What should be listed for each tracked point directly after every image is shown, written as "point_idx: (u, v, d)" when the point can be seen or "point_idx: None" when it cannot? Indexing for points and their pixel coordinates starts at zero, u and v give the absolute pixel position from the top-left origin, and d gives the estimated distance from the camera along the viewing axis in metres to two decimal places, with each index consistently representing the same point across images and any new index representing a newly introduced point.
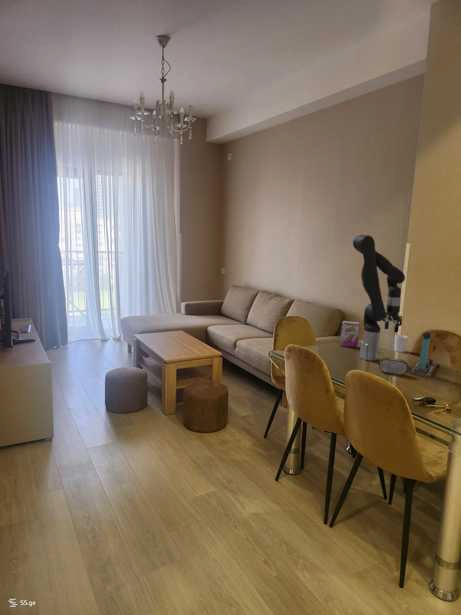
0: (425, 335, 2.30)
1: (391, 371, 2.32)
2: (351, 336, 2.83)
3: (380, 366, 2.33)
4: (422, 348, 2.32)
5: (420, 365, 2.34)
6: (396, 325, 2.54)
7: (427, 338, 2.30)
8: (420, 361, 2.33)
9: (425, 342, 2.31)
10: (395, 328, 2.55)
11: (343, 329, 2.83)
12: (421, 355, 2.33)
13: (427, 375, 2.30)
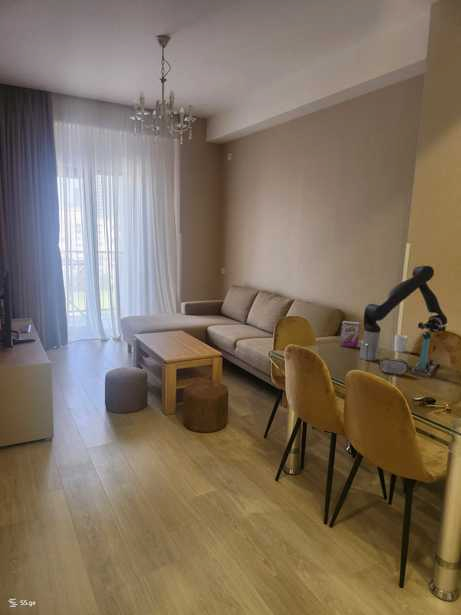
0: (425, 335, 2.30)
1: (391, 371, 2.32)
2: (351, 336, 2.83)
3: (380, 366, 2.33)
4: (422, 348, 2.32)
5: (420, 365, 2.34)
6: (441, 327, 2.41)
7: (427, 338, 2.30)
8: (420, 361, 2.33)
9: (425, 342, 2.31)
10: (440, 328, 2.40)
11: (343, 329, 2.83)
12: (421, 355, 2.33)
13: (427, 375, 2.30)
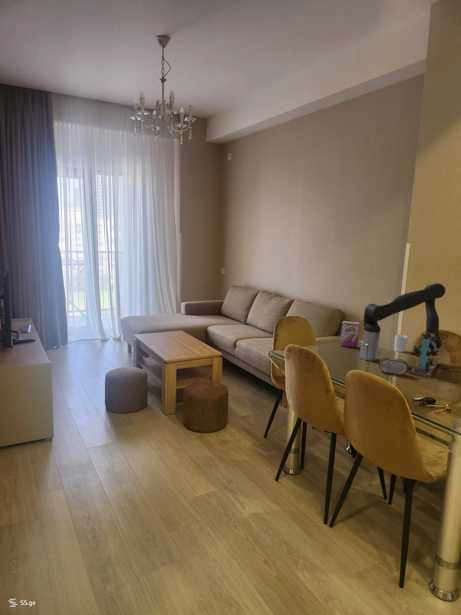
0: (425, 335, 2.30)
1: (391, 371, 2.32)
2: (351, 336, 2.83)
3: (380, 366, 2.33)
4: (422, 348, 2.32)
5: (420, 365, 2.34)
6: (430, 351, 2.33)
7: (427, 338, 2.30)
8: (420, 361, 2.33)
9: (425, 342, 2.31)
10: (428, 352, 2.32)
11: (343, 329, 2.83)
12: (421, 355, 2.33)
13: (427, 375, 2.30)
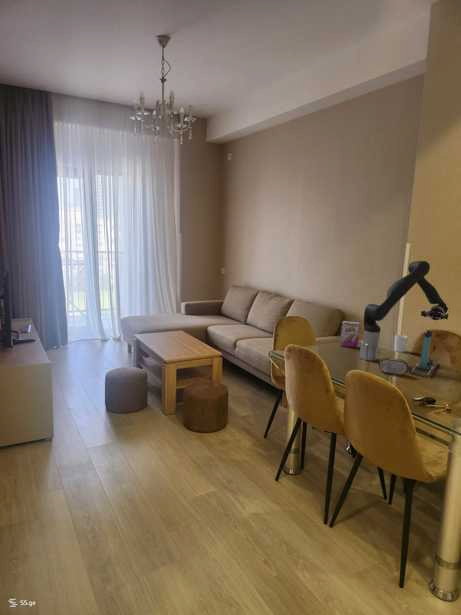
0: (426, 333, 2.35)
1: (391, 371, 2.32)
2: (351, 336, 2.83)
3: (380, 366, 2.33)
4: (424, 346, 2.37)
5: (422, 363, 2.38)
6: (444, 315, 2.45)
7: (428, 336, 2.35)
8: (422, 359, 2.38)
9: (427, 341, 2.35)
10: (442, 315, 2.44)
11: (343, 329, 2.83)
12: (423, 353, 2.37)
13: (427, 375, 2.30)
